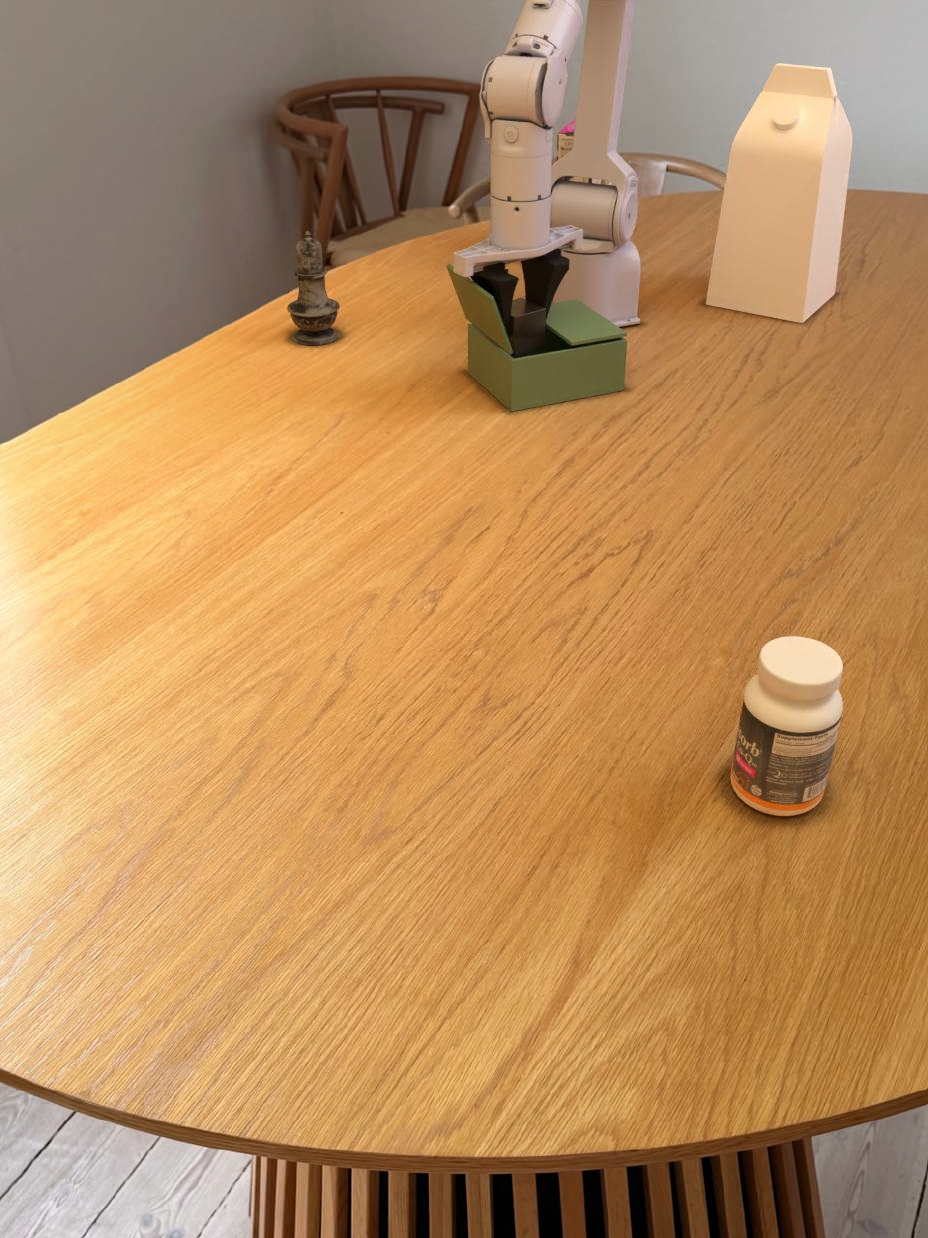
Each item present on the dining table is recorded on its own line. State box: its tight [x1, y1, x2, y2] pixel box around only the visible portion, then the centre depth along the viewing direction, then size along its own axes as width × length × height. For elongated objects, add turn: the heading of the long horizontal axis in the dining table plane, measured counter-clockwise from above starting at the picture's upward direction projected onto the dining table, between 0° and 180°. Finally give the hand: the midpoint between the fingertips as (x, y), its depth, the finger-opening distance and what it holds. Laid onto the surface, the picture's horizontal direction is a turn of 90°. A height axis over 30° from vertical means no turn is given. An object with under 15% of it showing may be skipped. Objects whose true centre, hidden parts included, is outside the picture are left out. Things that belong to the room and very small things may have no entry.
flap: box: [445, 263, 513, 354], centre depth 119 cm, size 6×11×1 cm
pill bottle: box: [730, 635, 844, 817], centre depth 72 cm, size 6×6×10 cm
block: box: [491, 297, 546, 355], centre depth 122 cm, size 4×4×4 cm
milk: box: [705, 62, 854, 324], centre depth 139 cm, size 12×12×26 cm
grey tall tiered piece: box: [286, 230, 341, 347], centre depth 134 cm, size 6×6×12 cm
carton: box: [467, 299, 628, 412], centre depth 125 cm, size 13×11×6 cm
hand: (518, 331), depth 122 cm, fingers closed on block, 4 cm apart
